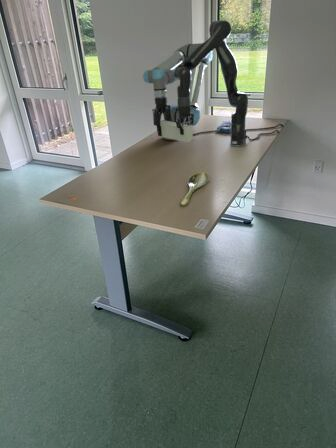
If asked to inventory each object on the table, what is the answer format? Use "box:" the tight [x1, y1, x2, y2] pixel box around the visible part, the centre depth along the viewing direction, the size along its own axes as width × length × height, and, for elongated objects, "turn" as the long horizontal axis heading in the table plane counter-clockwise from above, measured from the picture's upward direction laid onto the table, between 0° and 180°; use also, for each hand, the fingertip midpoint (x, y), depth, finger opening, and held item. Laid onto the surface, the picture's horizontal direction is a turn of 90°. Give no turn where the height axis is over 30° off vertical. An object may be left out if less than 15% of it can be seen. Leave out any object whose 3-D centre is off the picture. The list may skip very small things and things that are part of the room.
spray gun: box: [216, 120, 231, 134], centre depth 254 cm, size 21×4×15 cm
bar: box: [156, 119, 194, 143], centre depth 208 cm, size 26×5×9 cm, turn 44°
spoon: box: [180, 171, 210, 207], centre depth 170 cm, size 35×11×2 cm, turn 159°
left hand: (163, 134), depth 216 cm, fingers open, 6 cm apart
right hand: (185, 133), depth 202 cm, fingers closed on bar, 5 cm apart
